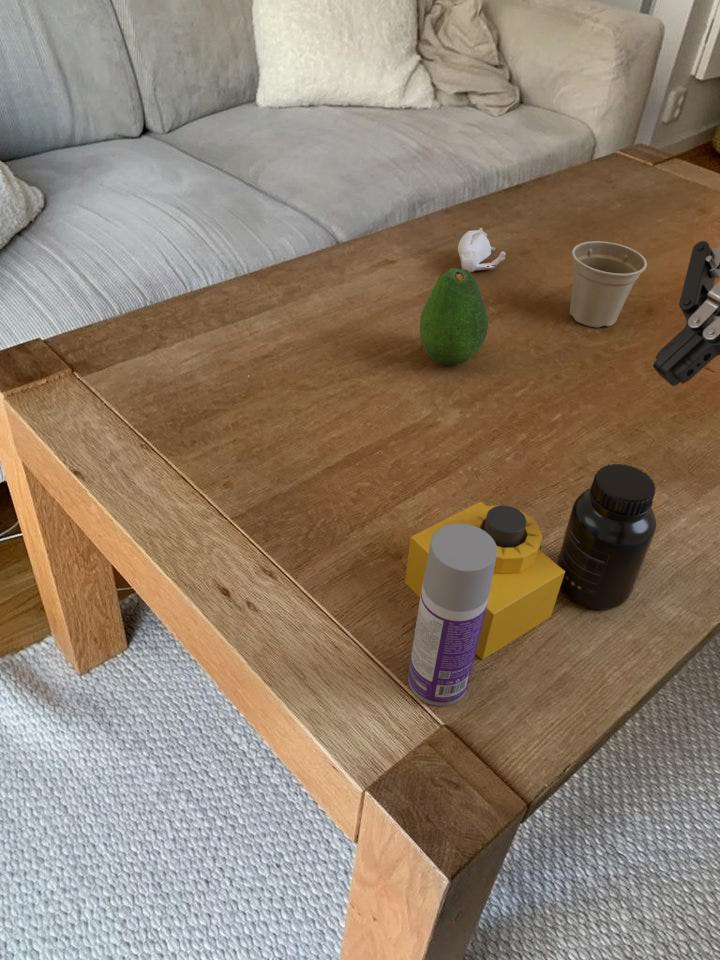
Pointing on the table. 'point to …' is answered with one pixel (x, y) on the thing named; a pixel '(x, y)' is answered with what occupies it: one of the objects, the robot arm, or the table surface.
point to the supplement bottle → (608, 537)
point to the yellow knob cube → (500, 580)
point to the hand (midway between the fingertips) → (663, 376)
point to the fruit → (454, 319)
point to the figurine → (476, 251)
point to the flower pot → (602, 281)
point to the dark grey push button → (505, 526)
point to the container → (451, 612)
